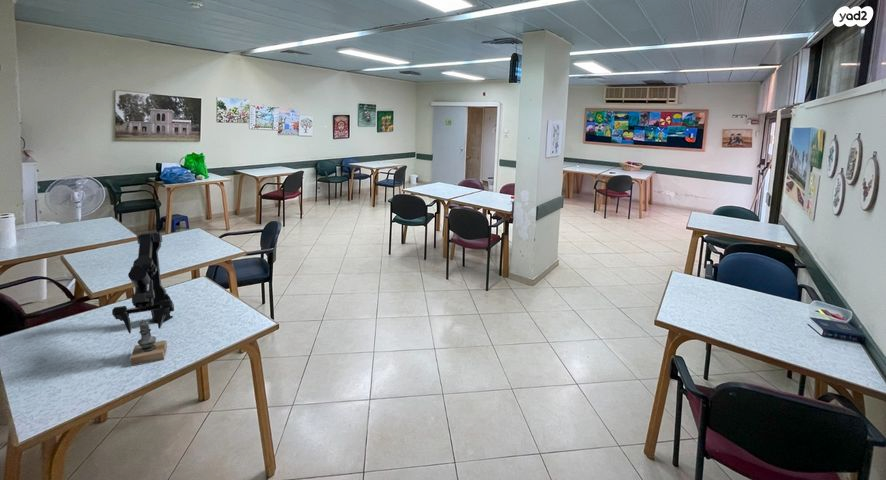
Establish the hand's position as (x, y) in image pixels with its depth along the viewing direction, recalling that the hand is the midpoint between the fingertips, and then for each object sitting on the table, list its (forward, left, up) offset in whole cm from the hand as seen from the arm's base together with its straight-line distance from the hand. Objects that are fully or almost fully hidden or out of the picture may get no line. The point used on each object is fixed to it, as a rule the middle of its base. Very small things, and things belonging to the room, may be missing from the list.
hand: (144, 330), depth 163 cm
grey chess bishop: (-1, +1, -8) cm, 8 cm away
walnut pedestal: (-1, +1, -11) cm, 11 cm away
